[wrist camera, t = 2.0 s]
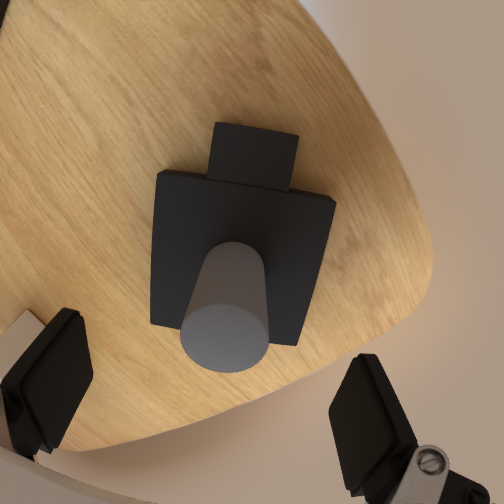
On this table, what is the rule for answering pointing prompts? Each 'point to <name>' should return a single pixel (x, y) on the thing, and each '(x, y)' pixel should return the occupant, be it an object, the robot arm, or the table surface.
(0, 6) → the pad
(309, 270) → the pad
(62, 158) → the table surface
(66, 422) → the robot arm
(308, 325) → the table surface
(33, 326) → the medicine bottle
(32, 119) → the table surface
